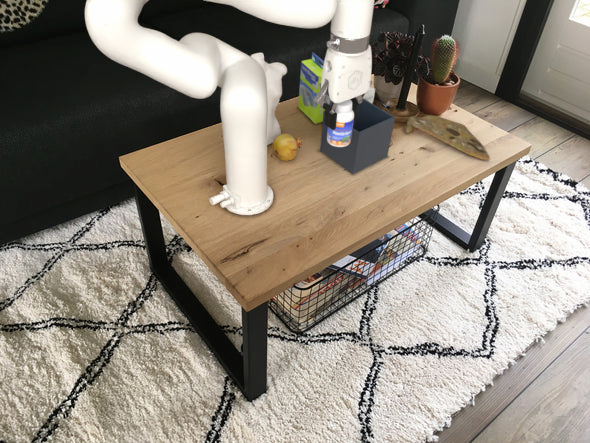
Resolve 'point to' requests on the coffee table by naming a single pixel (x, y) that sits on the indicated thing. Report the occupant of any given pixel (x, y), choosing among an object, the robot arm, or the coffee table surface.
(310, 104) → the box
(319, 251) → the coffee table surface
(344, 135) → the pill bottle
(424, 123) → the decorative stone
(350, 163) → the carton
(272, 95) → the torso sculpture
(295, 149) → the fruit
